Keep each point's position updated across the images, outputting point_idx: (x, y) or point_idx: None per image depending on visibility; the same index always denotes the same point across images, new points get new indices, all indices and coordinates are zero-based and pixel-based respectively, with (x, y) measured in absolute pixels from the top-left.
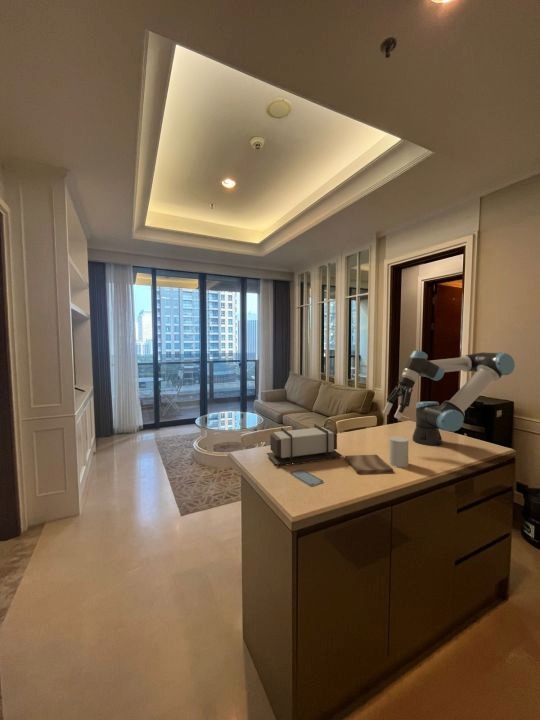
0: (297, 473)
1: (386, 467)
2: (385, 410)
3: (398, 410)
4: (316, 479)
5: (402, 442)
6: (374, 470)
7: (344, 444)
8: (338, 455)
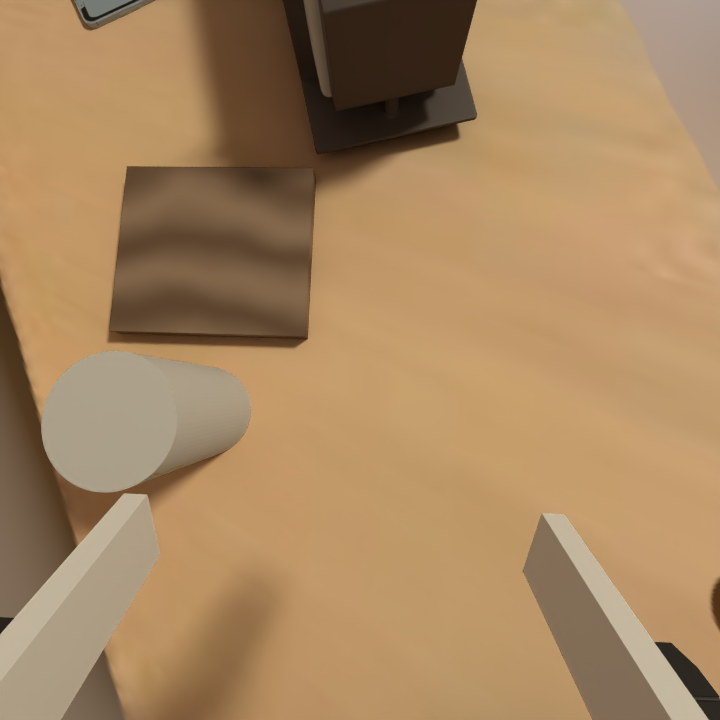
0: None
1: (132, 308)
2: (563, 570)
3: (18, 627)
4: (107, 2)
5: (49, 411)
6: (121, 244)
7: (539, 243)
8: (313, 133)
